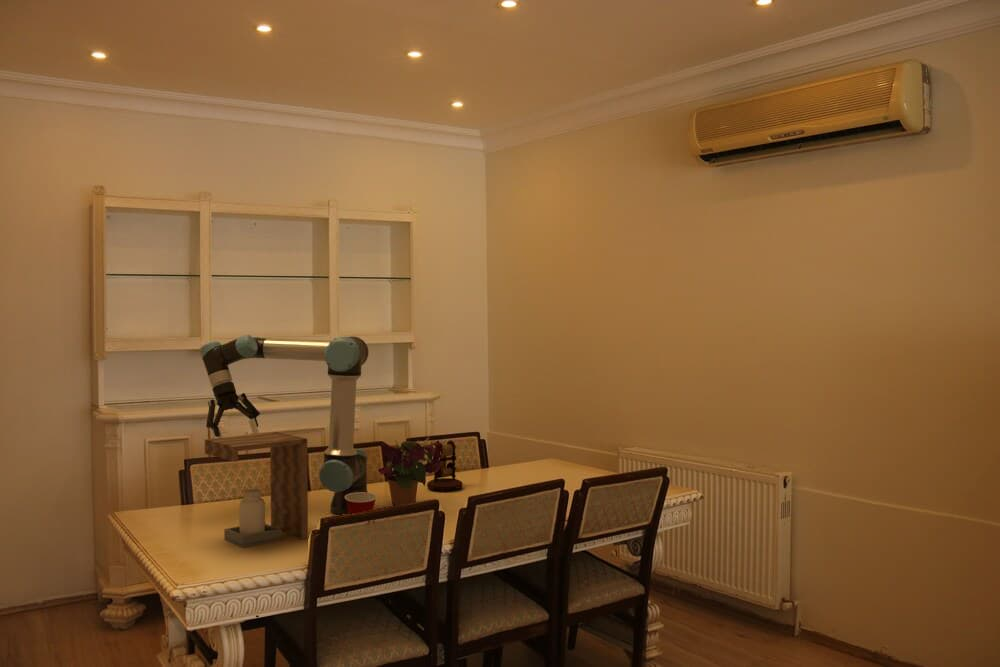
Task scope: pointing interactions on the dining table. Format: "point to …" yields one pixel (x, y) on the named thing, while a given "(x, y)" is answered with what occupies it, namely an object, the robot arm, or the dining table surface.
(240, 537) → the tray
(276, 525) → the wooden l-shaped stand
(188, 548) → the dining table surface
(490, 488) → the dining table surface
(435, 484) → the dark mug tree
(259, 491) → the pill bottle
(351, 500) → the plastic cup
